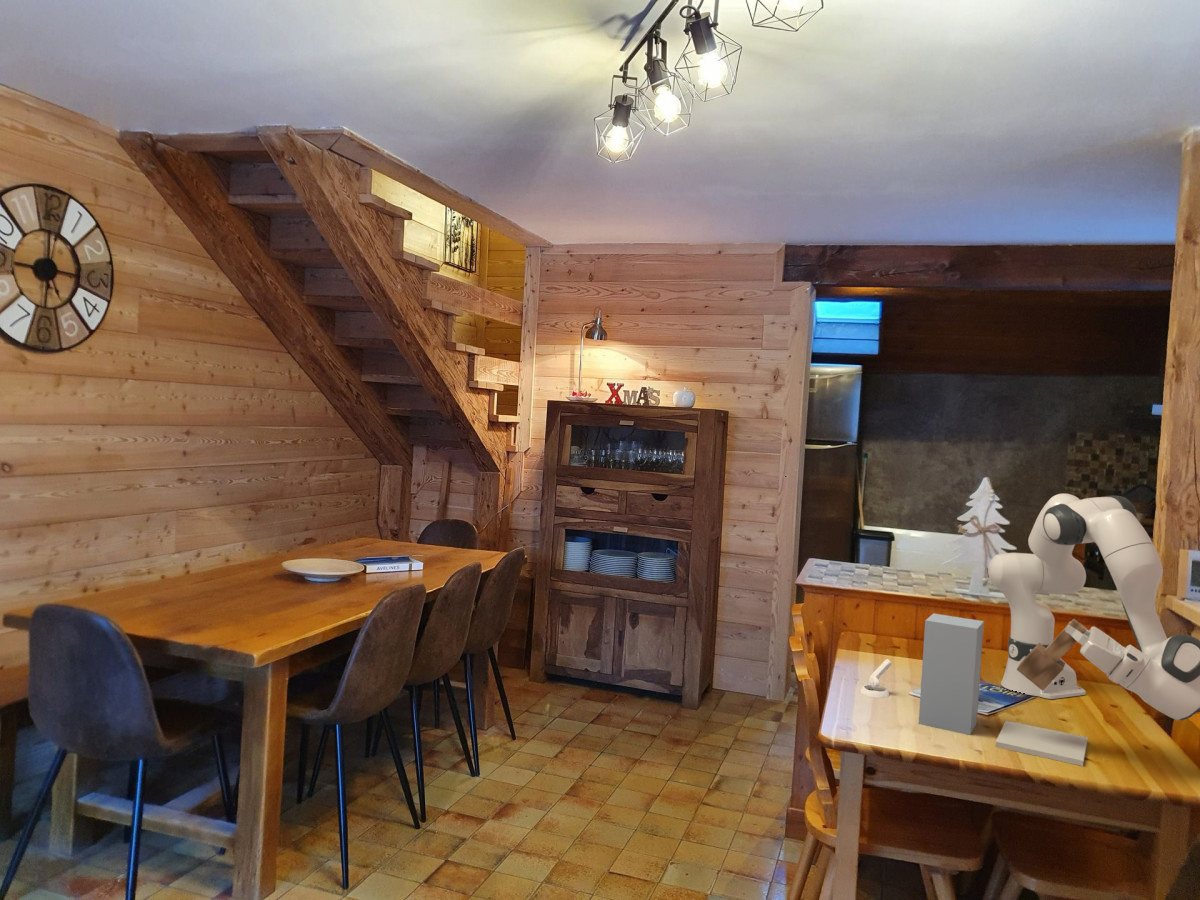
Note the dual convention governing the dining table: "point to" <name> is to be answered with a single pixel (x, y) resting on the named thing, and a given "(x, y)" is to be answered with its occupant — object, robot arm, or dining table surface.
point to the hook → (877, 682)
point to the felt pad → (1043, 742)
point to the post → (951, 673)
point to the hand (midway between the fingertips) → (1067, 625)
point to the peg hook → (1048, 658)
